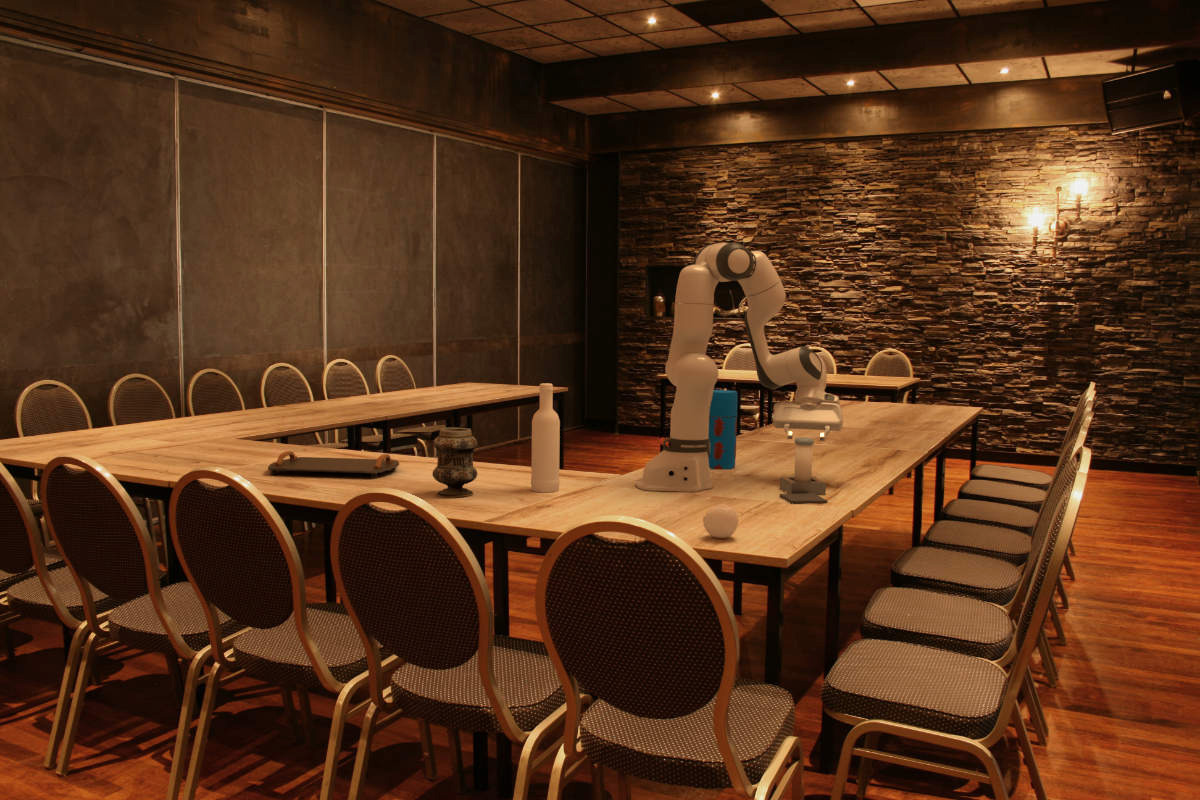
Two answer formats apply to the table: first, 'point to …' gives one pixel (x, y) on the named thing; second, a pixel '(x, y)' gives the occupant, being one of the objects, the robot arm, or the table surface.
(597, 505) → the table surface
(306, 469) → the serving board
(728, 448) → the red-spotted teal box
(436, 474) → the apothecary jar
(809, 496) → the mat
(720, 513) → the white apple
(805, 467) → the cylinder
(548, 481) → the bottle
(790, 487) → the collar
